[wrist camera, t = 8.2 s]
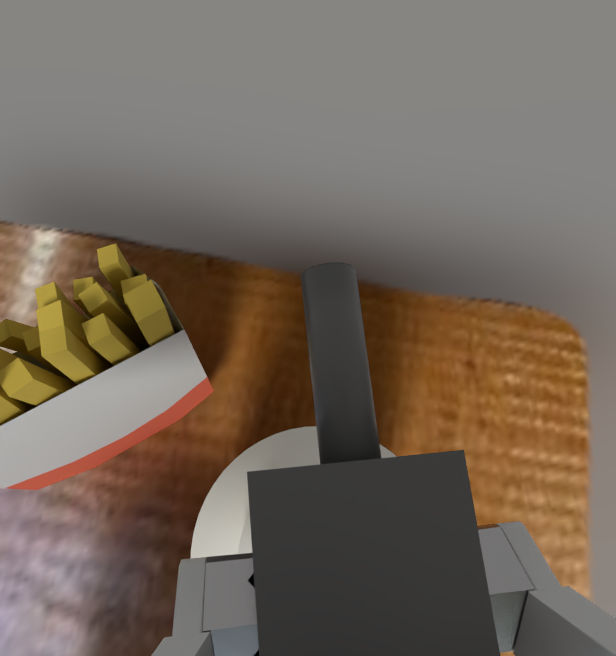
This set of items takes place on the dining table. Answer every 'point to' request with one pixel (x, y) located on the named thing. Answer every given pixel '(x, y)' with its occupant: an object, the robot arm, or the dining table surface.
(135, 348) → the french fries container
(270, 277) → the dining table surface
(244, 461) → the syrup bottle
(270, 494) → the pump head
